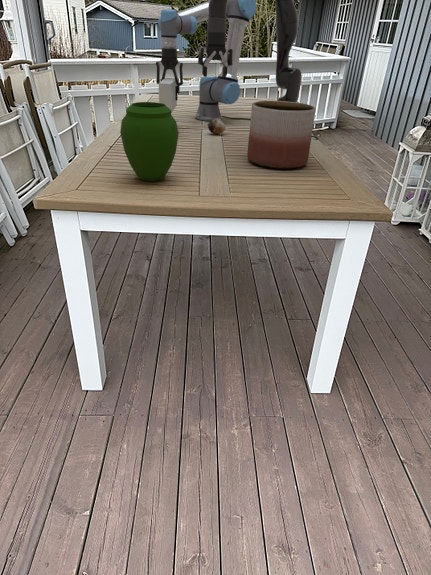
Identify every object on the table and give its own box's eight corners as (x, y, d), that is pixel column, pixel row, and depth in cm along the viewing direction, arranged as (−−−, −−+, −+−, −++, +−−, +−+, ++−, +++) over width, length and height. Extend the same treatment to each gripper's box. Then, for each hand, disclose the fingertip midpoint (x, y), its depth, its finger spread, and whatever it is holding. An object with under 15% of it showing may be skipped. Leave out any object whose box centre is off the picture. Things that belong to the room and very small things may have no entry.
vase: (131, 189, 135) (125, 110, 122) (118, 172, 150) (112, 100, 137) (186, 184, 142) (187, 109, 129) (169, 168, 157) (167, 99, 144)
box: (165, 104, 216) (165, 77, 209) (176, 105, 216) (176, 78, 209) (159, 112, 195) (158, 83, 189) (171, 113, 195) (170, 83, 189)
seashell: (224, 133, 216) (225, 117, 212) (226, 135, 212) (227, 119, 207) (206, 132, 215) (207, 116, 211) (208, 135, 210) (208, 118, 206)
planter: (316, 170, 164) (326, 111, 152) (255, 170, 160) (260, 110, 148) (295, 154, 185) (303, 101, 173) (241, 154, 181) (245, 99, 169)
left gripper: (148, 47, 195) (150, 100, 208) (187, 49, 195) (187, 101, 208) (151, 46, 202) (153, 97, 214) (189, 48, 202) (189, 99, 214)
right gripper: (203, 30, 157) (201, 77, 165) (236, 32, 161) (233, 78, 170) (196, 30, 162) (195, 75, 171) (229, 31, 167) (226, 76, 176)
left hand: (170, 99), depth 211 cm, fingers closed on box, 6 cm apart
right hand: (214, 76), depth 171 cm, fingers open, 8 cm apart
